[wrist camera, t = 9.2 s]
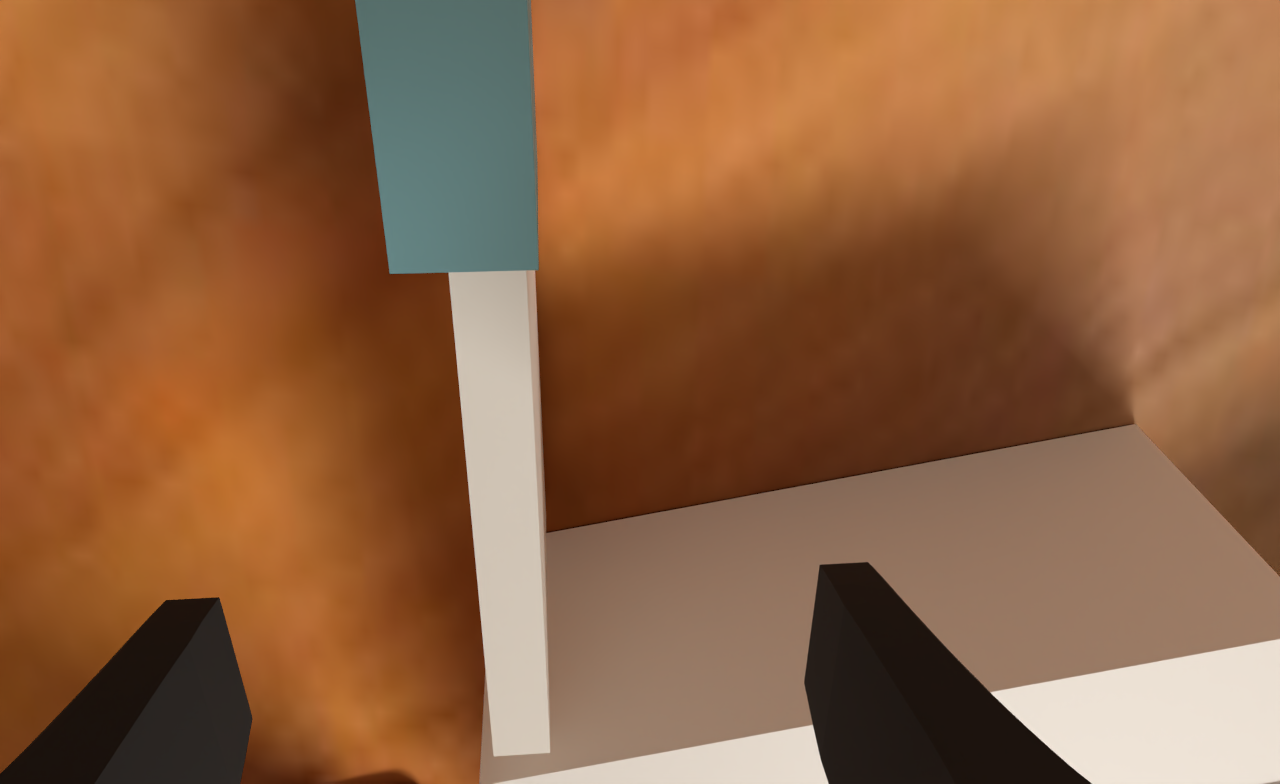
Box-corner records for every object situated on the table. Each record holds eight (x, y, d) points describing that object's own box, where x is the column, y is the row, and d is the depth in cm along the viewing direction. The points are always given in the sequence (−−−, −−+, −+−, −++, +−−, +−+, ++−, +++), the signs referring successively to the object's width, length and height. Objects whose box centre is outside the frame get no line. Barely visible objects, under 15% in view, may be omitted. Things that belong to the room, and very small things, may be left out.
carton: (582, 839, 31) (594, 1098, 25) (490, 543, 25) (476, 793, 18) (1098, 744, 31) (1237, 981, 25) (1137, 423, 24) (1338, 635, 18)
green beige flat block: (554, 510, 24) (566, 926, 15) (495, 512, 24) (473, 933, 15) (527, -162, 17) (523, -101, 8) (442, -163, 17) (341, -104, 8)
